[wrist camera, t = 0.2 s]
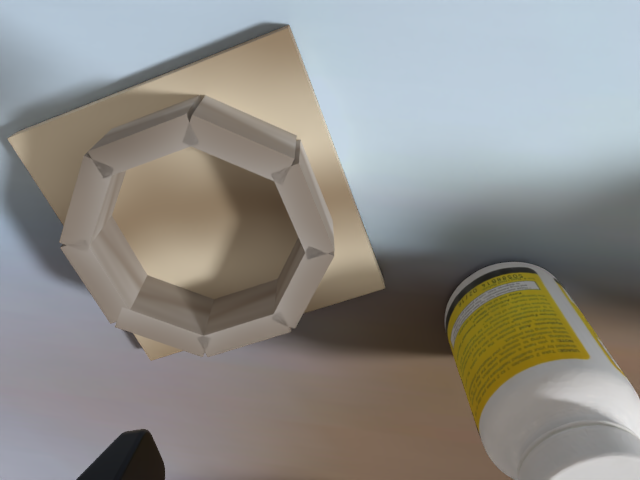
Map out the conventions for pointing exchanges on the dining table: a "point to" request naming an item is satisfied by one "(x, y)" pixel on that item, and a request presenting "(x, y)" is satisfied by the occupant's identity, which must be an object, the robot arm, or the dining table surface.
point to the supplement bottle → (541, 379)
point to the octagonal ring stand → (205, 201)
